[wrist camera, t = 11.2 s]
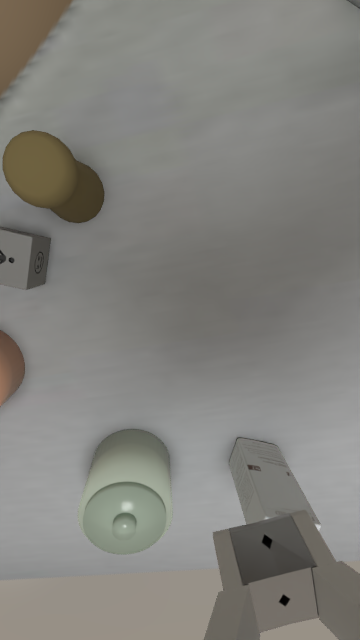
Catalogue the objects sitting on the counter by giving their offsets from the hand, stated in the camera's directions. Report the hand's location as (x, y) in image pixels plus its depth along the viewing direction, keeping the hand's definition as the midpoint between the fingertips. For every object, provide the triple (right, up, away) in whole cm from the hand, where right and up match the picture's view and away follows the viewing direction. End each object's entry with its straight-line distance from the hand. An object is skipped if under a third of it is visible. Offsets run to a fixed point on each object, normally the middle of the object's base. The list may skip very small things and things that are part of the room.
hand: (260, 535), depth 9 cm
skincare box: (+7, -12, +32) cm, 34 cm away
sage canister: (-9, -12, +30) cm, 34 cm away
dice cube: (-20, +14, +23) cm, 33 cm away
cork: (-14, +20, +22) cm, 33 cm away
